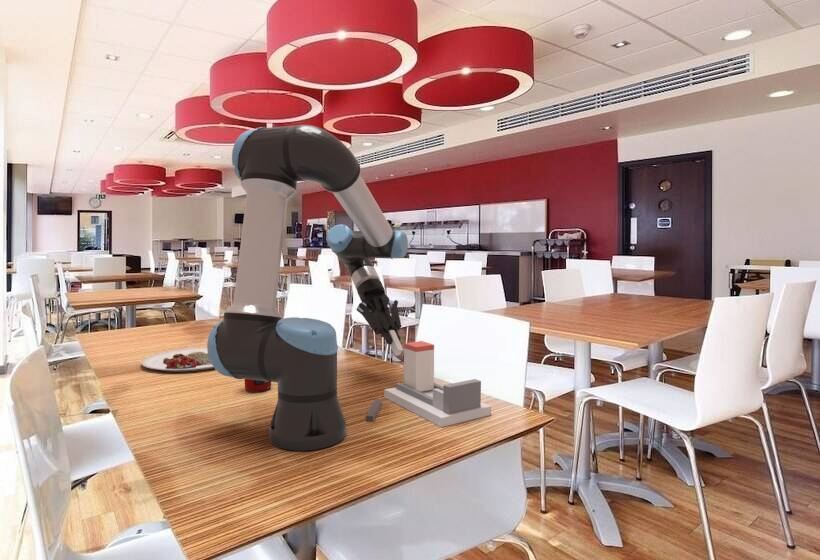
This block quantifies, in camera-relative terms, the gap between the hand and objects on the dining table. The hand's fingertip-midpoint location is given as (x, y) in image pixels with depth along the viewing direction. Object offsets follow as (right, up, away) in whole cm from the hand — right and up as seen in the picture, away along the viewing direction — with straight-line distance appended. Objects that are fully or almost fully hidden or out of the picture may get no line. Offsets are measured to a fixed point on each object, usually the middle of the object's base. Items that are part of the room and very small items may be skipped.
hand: (399, 352), depth 134 cm
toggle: (+5, -8, -9) cm, 13 cm away
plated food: (-66, -7, +27) cm, 72 cm away
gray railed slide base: (+9, -11, -14) cm, 20 cm away
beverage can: (-37, -10, -2) cm, 38 cm away
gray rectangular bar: (-5, -11, -19) cm, 23 cm away
